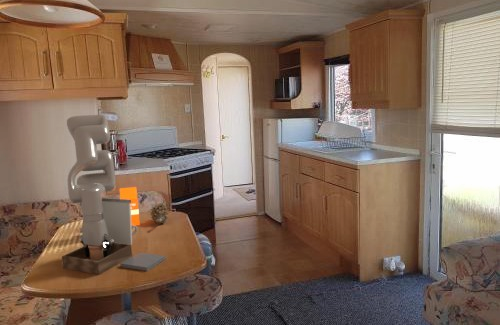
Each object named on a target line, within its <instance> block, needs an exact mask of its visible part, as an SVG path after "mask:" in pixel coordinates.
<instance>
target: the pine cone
mask: <svg viewBox="0 0 500 325" xmlns="http://www.w3.org/2000/svg"><path fill="white" fill-rule="evenodd" d="M150 210H151V211H150V218H151V219H152V220H153V222H154V223H157V224H158V225H161V224H162V223H165V222H167V220H168V218H169V209H168V207H167V206H166V205H165V204H162V203H157V205H156V204H155V205H154V206H152V208H151V209H150Z"/></svg>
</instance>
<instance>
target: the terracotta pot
mask: <svg viewBox="0 0 500 325" xmlns="http://www.w3.org/2000/svg"><path fill="white" fill-rule="evenodd" d="M105 246H106V244H105ZM88 249H89V251H90V257H89V258H90V259H89V260H95V261H99V260H101V259H103V258H104V256H103V250H104V249H103V248H102V246H91V245H88Z"/></svg>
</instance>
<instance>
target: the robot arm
mask: <svg viewBox="0 0 500 325" xmlns="http://www.w3.org/2000/svg"><path fill="white" fill-rule="evenodd" d="M66 127H67V129H68V132H69V133H70V135H71V137H72V138H73V140H74V146H75V156H76V162H75V163H74V165H73V166H72V167H71V168H70V170H69V172H68V175H67V192H68V199H69V201H70V202H71V203H72V204H81V207H80V208H81V214H82V224H81V225H82V226H81V228H80V229H79V233H81V235H79V236H78V238H79V240H80V241H81V245H82V247H84V248H85V255H86V257H88V258H90V257H89V256H90V251H89V249H88V245H91V246H102V248H103V249H104V250H103V256H104V258H105V257H107V256H109V255H110V248H111V246H112V245H113V241H114V240H113V239H112V238H111V237H109V236H108V231H107V226H106V223H105V220H104V215H103V206H102V199H103V198H105V196H106V192H112V191H115V189H116V187H117V186H116V184H117V182H116V174H115V173H116V172H115V163H114V158H113V154H112V152H111V151H110V150H108V149H100V150H99V149H98V148H97V145H103V144H108V143H109V142H110V140H111V132H110V126H109V122H108V118H107V116H106V115H104V114H92V115H90V114H88V115H85V114H84V115H73V116H71V117H68V118H67V119H66ZM94 171H95V172H94ZM96 171H103V172H96ZM81 172H93V173H86V174H82V175H80V176H78V177H77V175H78V174H79V173H81ZM76 177H77V179H76ZM75 181H76V183H75ZM108 242H109V243H108ZM105 244H106V246H105Z"/></svg>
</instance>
